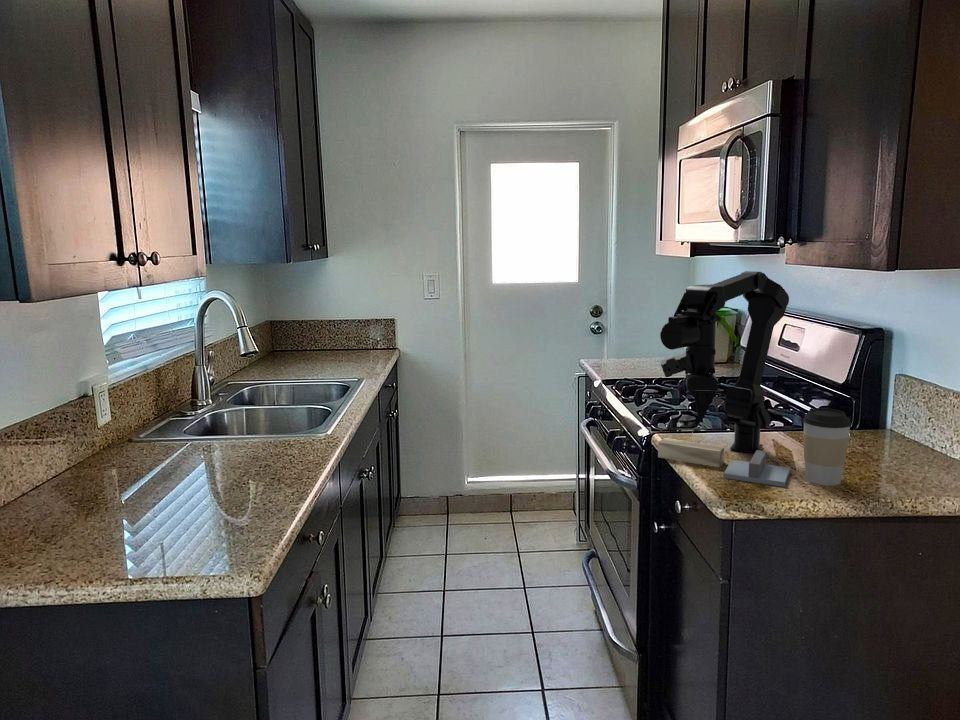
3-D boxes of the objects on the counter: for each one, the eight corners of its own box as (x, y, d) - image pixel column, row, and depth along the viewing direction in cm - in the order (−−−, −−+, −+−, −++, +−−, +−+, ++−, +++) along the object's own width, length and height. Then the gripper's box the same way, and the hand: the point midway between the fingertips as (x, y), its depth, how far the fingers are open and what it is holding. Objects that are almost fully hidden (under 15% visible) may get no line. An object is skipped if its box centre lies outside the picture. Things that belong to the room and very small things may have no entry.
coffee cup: (848, 476, 144) (853, 407, 141) (846, 490, 136) (851, 417, 134) (801, 470, 149) (805, 403, 146) (796, 483, 141) (801, 412, 138)
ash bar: (663, 453, 163) (664, 437, 162) (723, 463, 155) (724, 446, 154) (657, 458, 159) (658, 442, 159) (719, 468, 152) (719, 451, 151)
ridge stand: (732, 464, 153) (732, 447, 153) (790, 472, 147) (791, 454, 147) (723, 477, 145) (724, 459, 144) (784, 486, 139) (785, 468, 138)
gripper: (663, 336, 159) (662, 401, 162) (662, 350, 142) (661, 423, 145) (713, 336, 156) (711, 402, 159) (719, 351, 139) (717, 425, 142)
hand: (699, 412), depth 151 cm, fingers open, 9 cm apart
